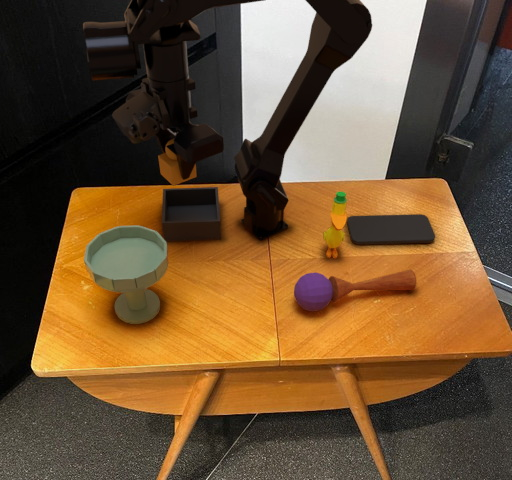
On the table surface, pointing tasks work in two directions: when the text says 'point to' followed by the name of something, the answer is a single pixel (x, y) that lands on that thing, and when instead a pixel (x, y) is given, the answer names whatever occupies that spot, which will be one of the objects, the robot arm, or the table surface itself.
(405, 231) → the phone
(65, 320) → the table surface
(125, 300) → the footed bowl
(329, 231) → the toy figure
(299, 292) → the kendama
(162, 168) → the orange block
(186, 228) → the bin
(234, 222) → the table surface
